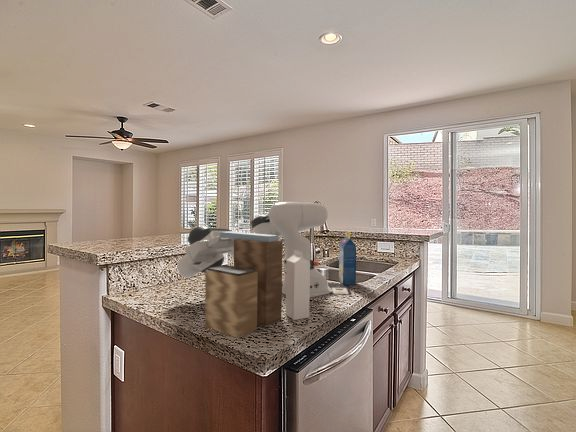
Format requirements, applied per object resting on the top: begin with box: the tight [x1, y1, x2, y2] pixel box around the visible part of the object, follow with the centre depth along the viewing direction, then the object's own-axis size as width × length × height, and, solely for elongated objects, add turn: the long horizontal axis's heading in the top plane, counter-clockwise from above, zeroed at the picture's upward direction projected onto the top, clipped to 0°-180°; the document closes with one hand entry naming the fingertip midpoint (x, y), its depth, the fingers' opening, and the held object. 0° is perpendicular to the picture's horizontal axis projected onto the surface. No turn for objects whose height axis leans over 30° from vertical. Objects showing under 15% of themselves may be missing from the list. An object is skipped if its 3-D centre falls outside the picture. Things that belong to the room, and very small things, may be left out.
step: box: [204, 264, 258, 339], centre depth 95 cm, size 14×8×18 cm, turn 55°
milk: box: [285, 250, 311, 321], centre depth 106 cm, size 6×6×22 cm
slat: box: [220, 230, 278, 242], centre depth 105 cm, size 22×4×2 cm, turn 55°
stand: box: [233, 239, 283, 328], centre depth 103 cm, size 14×8×26 cm, turn 55°
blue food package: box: [338, 231, 357, 285], centre depth 153 cm, size 6×12×25 cm, turn 0°
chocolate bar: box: [327, 282, 353, 295], centre depth 142 cm, size 9×1×18 cm
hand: (229, 237), depth 110 cm, fingers open, 8 cm apart
